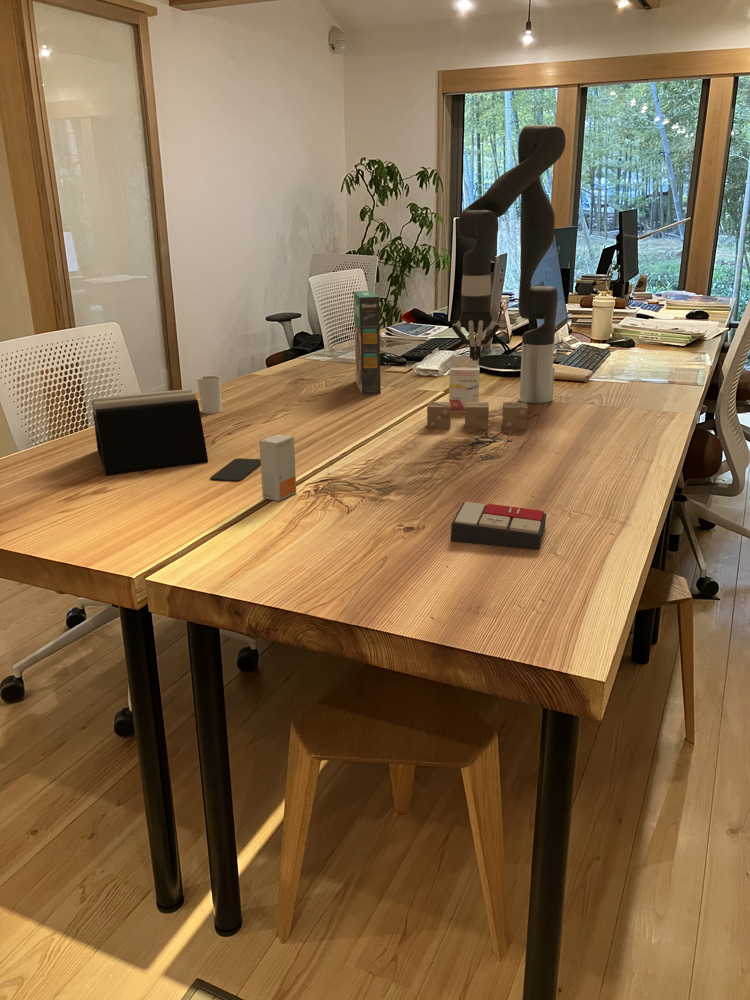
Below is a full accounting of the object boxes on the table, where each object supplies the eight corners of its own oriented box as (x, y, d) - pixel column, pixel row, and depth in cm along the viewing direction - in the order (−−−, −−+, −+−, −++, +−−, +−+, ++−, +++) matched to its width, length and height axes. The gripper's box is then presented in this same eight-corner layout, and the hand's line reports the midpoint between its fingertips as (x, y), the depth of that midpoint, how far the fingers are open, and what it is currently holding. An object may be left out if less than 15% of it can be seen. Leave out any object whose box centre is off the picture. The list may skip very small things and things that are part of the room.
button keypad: (541, 531, 128) (451, 519, 132) (538, 555, 130) (449, 542, 133) (547, 508, 138) (463, 498, 142) (544, 531, 139) (461, 520, 143)
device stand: (208, 463, 180) (202, 399, 175) (106, 477, 172) (97, 410, 167) (190, 440, 200) (184, 382, 195) (97, 451, 192) (89, 391, 187)
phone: (208, 478, 168) (235, 458, 181) (208, 482, 168) (235, 461, 182) (240, 480, 166) (265, 459, 180) (240, 483, 166) (265, 462, 180)
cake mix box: (355, 381, 268) (353, 291, 258) (373, 380, 269) (371, 290, 259) (361, 394, 248) (359, 297, 238) (380, 393, 249) (379, 296, 238)
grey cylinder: (220, 413, 226) (217, 379, 223) (198, 414, 226) (194, 379, 223) (225, 408, 233) (222, 375, 229) (203, 408, 233) (200, 375, 229)
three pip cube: (428, 423, 211) (428, 401, 209) (450, 423, 210) (450, 401, 208) (427, 429, 205) (427, 406, 203) (450, 429, 205) (450, 406, 203)
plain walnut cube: (465, 423, 210) (465, 402, 208) (487, 424, 209) (488, 402, 207) (464, 429, 204) (465, 407, 202) (488, 429, 204) (488, 407, 202)
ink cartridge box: (448, 409, 226) (449, 358, 221) (449, 405, 231) (449, 355, 226) (478, 409, 225) (480, 358, 220) (478, 405, 230) (479, 355, 225)
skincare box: (279, 502, 154) (275, 443, 150) (262, 498, 156) (258, 440, 152) (297, 493, 159) (294, 436, 154) (281, 489, 161) (277, 433, 157)
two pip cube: (502, 424, 209) (503, 401, 207) (525, 424, 208) (526, 401, 206) (503, 430, 203) (504, 406, 201) (526, 430, 202) (527, 407, 200)
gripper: (450, 295, 198) (449, 363, 204) (502, 294, 196) (500, 362, 203) (450, 291, 205) (450, 357, 211) (501, 290, 203) (499, 357, 209)
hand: (475, 359), depth 207 cm, fingers closed
